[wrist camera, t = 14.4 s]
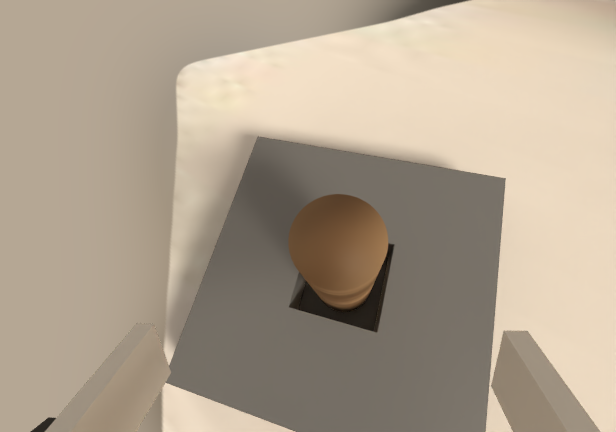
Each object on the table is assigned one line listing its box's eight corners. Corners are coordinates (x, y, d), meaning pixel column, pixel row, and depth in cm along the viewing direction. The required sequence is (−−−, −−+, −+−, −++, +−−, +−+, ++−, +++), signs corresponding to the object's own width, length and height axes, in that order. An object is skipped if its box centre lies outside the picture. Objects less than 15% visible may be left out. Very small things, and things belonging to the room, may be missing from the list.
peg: (375, 265, 26) (396, 204, 14) (364, 318, 25) (377, 302, 13) (324, 253, 27) (303, 185, 15) (310, 303, 26) (275, 274, 14)
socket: (484, 200, 27) (505, 178, 23) (456, 471, 21) (479, 500, 17) (268, 160, 31) (257, 136, 27) (191, 374, 25) (163, 381, 21)
